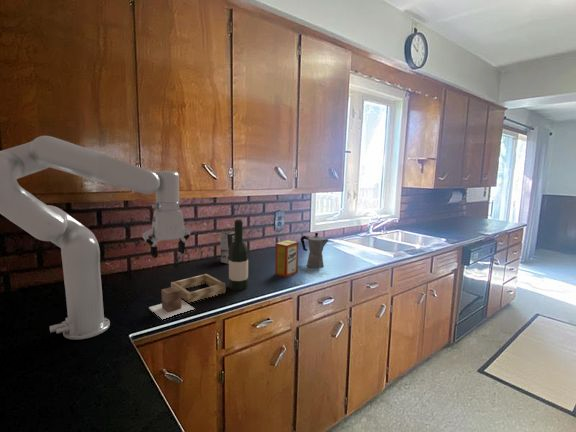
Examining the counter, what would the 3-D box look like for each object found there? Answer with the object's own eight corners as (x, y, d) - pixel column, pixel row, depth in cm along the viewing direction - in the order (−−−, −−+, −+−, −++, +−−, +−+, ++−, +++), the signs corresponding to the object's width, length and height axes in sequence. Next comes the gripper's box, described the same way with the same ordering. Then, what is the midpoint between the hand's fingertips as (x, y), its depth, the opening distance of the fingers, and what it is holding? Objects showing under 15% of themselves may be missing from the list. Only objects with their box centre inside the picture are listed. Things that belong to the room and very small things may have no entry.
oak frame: (188, 303, 122) (188, 294, 121) (171, 291, 133) (170, 282, 132) (225, 292, 133) (225, 283, 132) (206, 282, 144) (206, 273, 143)
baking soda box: (285, 277, 153) (286, 244, 150) (275, 274, 156) (275, 242, 154) (297, 272, 160) (298, 241, 157) (287, 269, 164) (287, 239, 161)
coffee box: (229, 264, 170) (229, 234, 167) (220, 262, 173) (220, 233, 171) (240, 260, 178) (240, 231, 175) (231, 258, 181) (231, 230, 178)
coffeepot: (329, 264, 173) (331, 232, 170) (324, 269, 165) (326, 235, 162) (302, 260, 179) (304, 229, 176) (296, 265, 171) (297, 232, 168)
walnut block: (168, 312, 113) (167, 293, 112) (162, 307, 117) (161, 289, 116) (181, 308, 117) (180, 290, 116) (175, 303, 120) (174, 286, 119)
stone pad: (162, 320, 109) (162, 319, 108) (148, 308, 117) (148, 307, 117) (194, 310, 117) (194, 308, 117) (180, 299, 125) (179, 298, 125)
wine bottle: (229, 291, 135) (229, 221, 130) (228, 284, 143) (227, 217, 138) (249, 289, 137) (249, 220, 132) (246, 282, 145) (247, 217, 140)
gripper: (146, 209, 102) (147, 261, 105) (196, 206, 114) (195, 253, 117) (137, 206, 107) (139, 256, 110) (186, 204, 119) (186, 249, 122)
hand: (168, 254), depth 113 cm, fingers open, 9 cm apart
